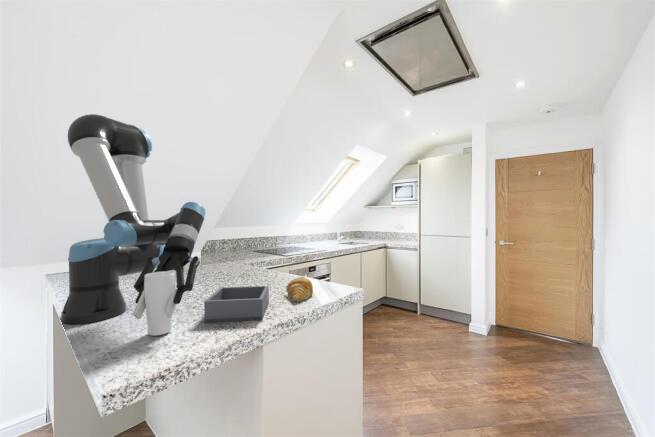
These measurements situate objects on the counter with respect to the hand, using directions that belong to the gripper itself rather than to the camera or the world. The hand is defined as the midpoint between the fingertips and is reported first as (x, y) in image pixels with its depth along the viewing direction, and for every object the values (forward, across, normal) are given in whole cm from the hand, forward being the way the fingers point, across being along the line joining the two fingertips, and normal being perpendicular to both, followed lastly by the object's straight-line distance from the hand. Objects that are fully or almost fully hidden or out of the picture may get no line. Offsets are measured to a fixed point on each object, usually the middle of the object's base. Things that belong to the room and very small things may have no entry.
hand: (152, 315), depth 66 cm
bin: (-8, -17, -16) cm, 25 cm away
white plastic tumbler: (+1, 0, -6) cm, 7 cm away
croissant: (-20, -36, -28) cm, 50 cm away
